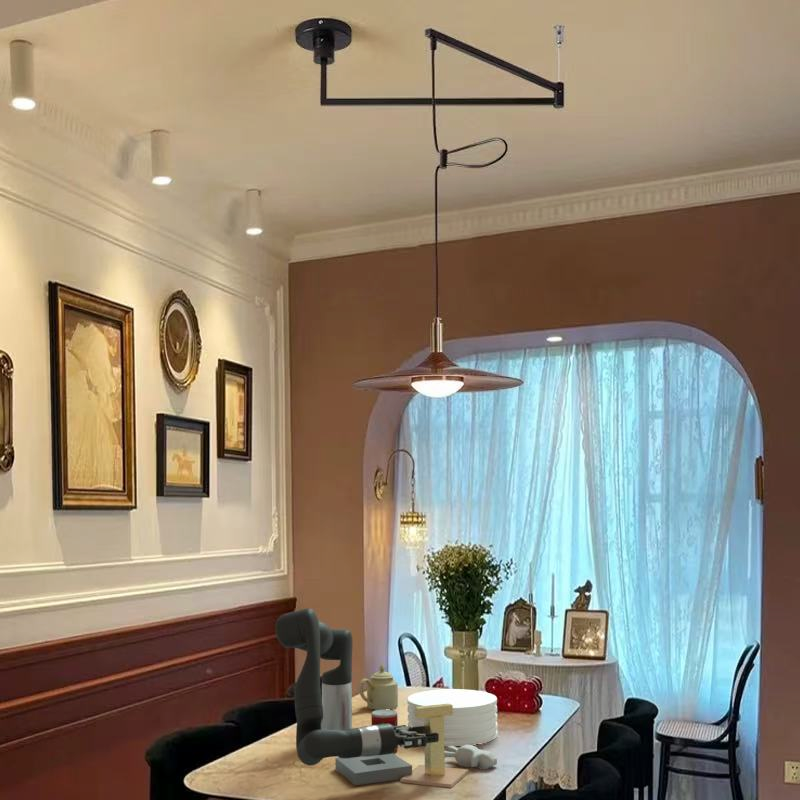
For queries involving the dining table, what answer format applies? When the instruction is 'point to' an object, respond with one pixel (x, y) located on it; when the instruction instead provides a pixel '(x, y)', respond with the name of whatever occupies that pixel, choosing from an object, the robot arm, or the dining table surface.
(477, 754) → the bunny figurine
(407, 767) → the cover plate
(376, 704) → the sugar bowl
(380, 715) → the canned food
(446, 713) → the t key
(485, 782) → the dining table surface
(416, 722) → the plate stack
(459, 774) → the tile
